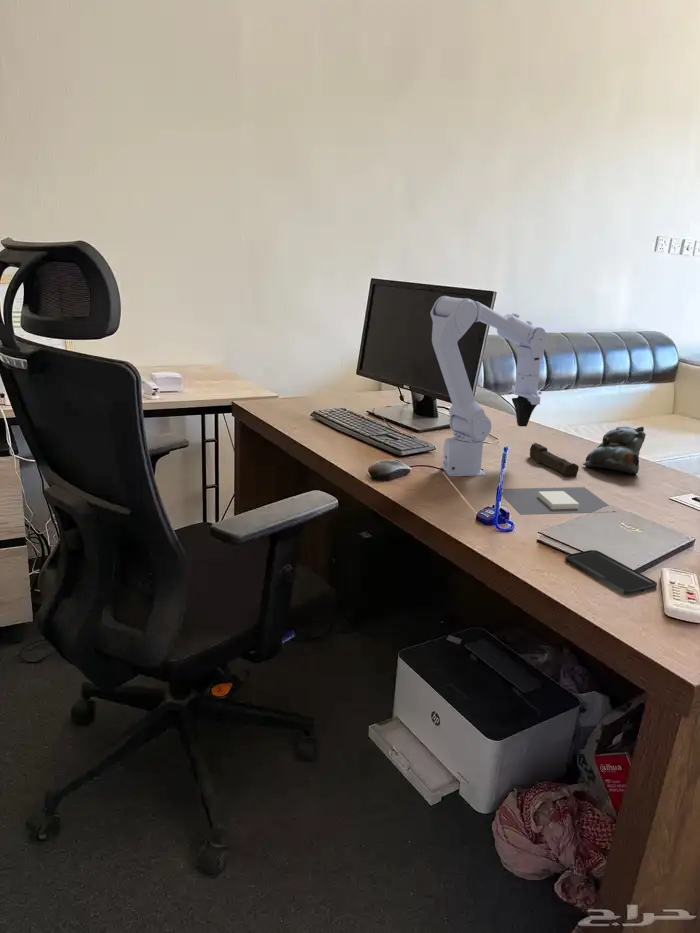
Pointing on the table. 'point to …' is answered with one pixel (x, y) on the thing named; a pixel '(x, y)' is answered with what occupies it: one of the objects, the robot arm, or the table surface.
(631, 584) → the phone
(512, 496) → the mat
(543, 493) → the tile
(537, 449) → the hand tool
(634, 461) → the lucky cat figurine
